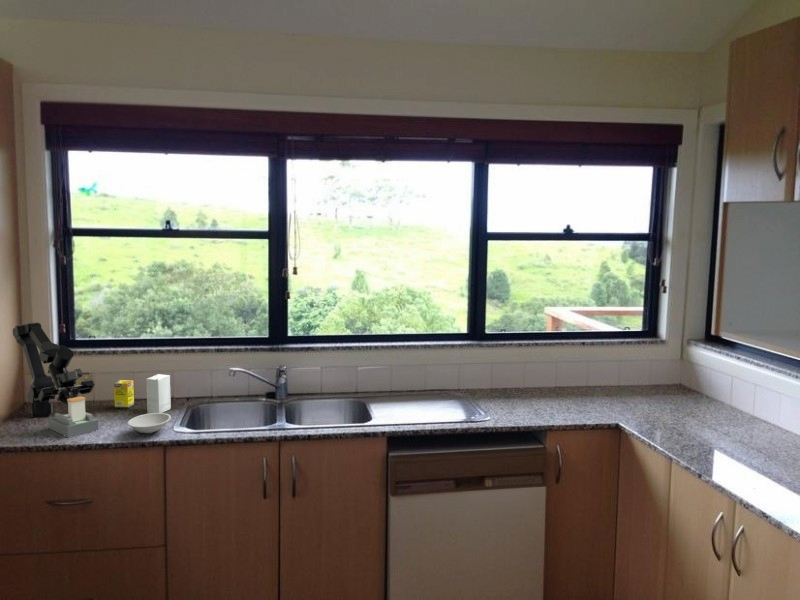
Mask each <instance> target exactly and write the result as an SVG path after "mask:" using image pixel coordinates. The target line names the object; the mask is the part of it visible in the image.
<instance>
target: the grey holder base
mask: <svg viewBox="0 0 800 600" xmlns="http://www.w3.org/2000/svg"><path fill="white" fill-rule="evenodd" d="M85 415H86V419H85V420H80V421H76V422H73V419H71V418H69V413H66V414H62V413H60V412H55V413H54V417H48V428H50V429H49V430H51V429H52V430H51V431H53V430H54V431H53V432H55V431H56V432H55V433H57V432H58V434H59V433H60V435H61V434H63V435H62V436H64V435H65V436H64V437H66V436H67V437H66V438H68V437H69V438H72V437H71V436H73V437H76V436H75V435H77V436H80V435H79V434H82V435H84V434H83V433H86V434H89V433H88V432H90V433H93V432H92V431H94V432H97V431H96V430H98V431H99V420H98V419H97V418H94V417H93V414H91V413H90V412H88V411H87V412H86V411H85Z"/></svg>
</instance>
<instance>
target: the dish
mask: <svg viewBox="0 0 800 600" xmlns="http://www.w3.org/2000/svg"><path fill="white" fill-rule="evenodd" d="M171 419H172V417H171V415H170V414H168V413H165V412H163V413H145V414H140V415H137V416H134V417H132V418H130V419H129V420H128V421H127V426H129V427H130V428H131V429H133V430H134V431H136V432H138V433H143V434H152V433H154V432H157V431H159V430H161V429H163V428H164V427H165V426H166V425H167V424H168V422H169V421H170V420H171Z"/></svg>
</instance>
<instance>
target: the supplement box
mask: <svg viewBox="0 0 800 600" xmlns="http://www.w3.org/2000/svg"><path fill="white" fill-rule="evenodd" d="M134 387H135V386H134V380H133V379H132V380H131V379H130V380H129V379H127V380H126V379H119V380H118V381H116V382H114V383H113V392H114V393H113V395H114V397H113V398H114V399H113V400H114V409H116V408H120V409H122V410H123V409H124V410H125V409H128V408H129V409H130V408H132V407H133V406H135V395H134V394H135V393H134V392H135V391H134ZM120 409H119V410H120ZM129 409H128V410H129Z"/></svg>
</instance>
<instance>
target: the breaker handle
mask: <svg viewBox="0 0 800 600" xmlns="http://www.w3.org/2000/svg"><path fill="white" fill-rule="evenodd" d="M67 401H68V405H67V408H68V409H67V411H68V413H67V414H69V418H71V419H73V422H76V421H80V420H85V419H86V415H85V412H86V397H84V396H82V395H81V396H77V397H75V398H70V399H67Z"/></svg>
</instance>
